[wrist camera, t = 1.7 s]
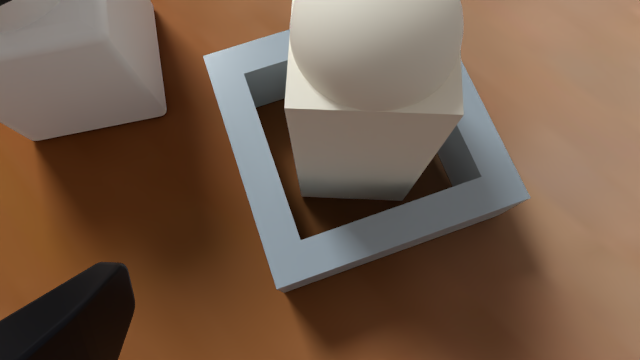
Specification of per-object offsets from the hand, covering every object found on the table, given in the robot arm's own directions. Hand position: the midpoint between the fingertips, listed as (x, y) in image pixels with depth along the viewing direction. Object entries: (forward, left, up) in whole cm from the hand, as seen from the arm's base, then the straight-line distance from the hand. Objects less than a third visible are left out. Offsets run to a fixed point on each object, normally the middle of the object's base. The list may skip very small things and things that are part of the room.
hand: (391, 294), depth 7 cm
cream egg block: (+3, +7, -14) cm, 16 cm away
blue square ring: (+3, +7, -14) cm, 15 cm away
